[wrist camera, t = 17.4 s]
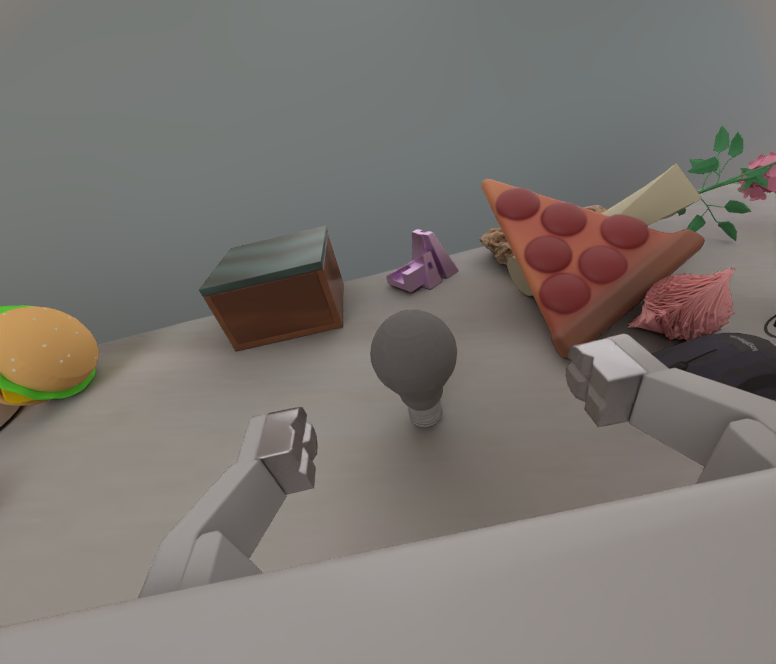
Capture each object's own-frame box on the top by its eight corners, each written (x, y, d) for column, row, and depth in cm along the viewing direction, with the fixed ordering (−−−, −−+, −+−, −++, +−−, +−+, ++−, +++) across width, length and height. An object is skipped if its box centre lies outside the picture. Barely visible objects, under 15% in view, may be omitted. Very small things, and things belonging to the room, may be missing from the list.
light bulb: (411, 383, 31) (390, 289, 26) (474, 401, 28) (466, 298, 22) (377, 434, 28) (343, 336, 22) (445, 461, 24) (427, 356, 19)
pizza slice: (575, 357, 28) (419, 214, 35) (564, 365, 30) (419, 229, 37) (713, 237, 31) (545, 131, 39) (695, 252, 33) (539, 148, 41)
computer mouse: (613, 377, 27) (623, 338, 25) (727, 349, 27) (748, 307, 25) (672, 435, 22) (691, 393, 20) (809, 401, 22) (844, 355, 20)
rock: (552, 201, 52) (618, 195, 44) (554, 234, 54) (618, 235, 46) (466, 233, 47) (523, 233, 38) (472, 269, 49) (527, 276, 40)
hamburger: (-99, 334, 33) (-31, 292, 32) (31, 316, 45) (83, 285, 44) (-17, 436, 35) (49, 399, 34) (87, 393, 46) (138, 364, 46)
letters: (417, 297, 43) (410, 254, 40) (383, 284, 48) (374, 245, 45) (458, 270, 47) (454, 228, 43) (423, 261, 52) (417, 222, 48)
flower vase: (519, 326, 46) (749, 198, 45) (580, 359, 34) (891, 187, 34) (486, 247, 42) (736, 107, 42) (542, 254, 31) (890, 60, 30)
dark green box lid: (233, 254, 47) (230, 248, 47) (328, 231, 47) (326, 225, 47) (202, 297, 37) (198, 289, 37) (323, 268, 37) (320, 261, 36)
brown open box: (255, 304, 51) (232, 256, 47) (343, 283, 51) (327, 233, 46) (235, 351, 42) (203, 297, 37) (343, 327, 41) (323, 269, 37)
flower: (777, 321, 22) (714, 255, 23) (649, 373, 28) (603, 318, 29) (766, 295, 27) (715, 242, 29) (661, 343, 33) (622, 297, 34)
